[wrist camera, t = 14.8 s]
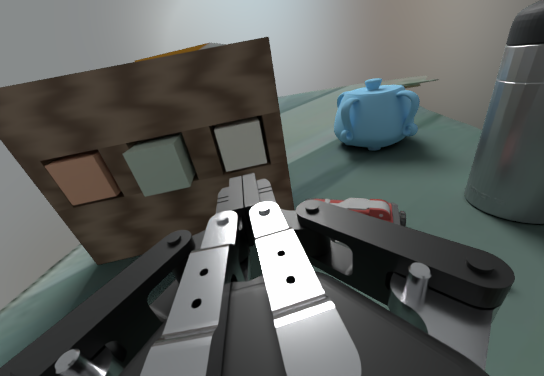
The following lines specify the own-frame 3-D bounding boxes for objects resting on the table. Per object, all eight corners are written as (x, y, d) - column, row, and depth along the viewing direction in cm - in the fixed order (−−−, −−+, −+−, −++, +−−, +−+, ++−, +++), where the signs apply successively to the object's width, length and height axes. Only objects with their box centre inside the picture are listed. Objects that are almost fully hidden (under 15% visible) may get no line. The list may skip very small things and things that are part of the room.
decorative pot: (404, 129, 56) (411, 69, 50) (418, 152, 43) (429, 76, 37) (338, 134, 62) (336, 81, 56) (332, 156, 49) (329, 90, 43)
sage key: (196, 171, 29) (182, 132, 26) (190, 186, 25) (172, 143, 22) (157, 179, 28) (139, 141, 26) (144, 196, 24) (122, 154, 22)
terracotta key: (132, 179, 30) (113, 144, 28) (116, 195, 26) (92, 155, 24) (94, 187, 30) (71, 152, 27) (72, 205, 26) (44, 166, 23)
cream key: (262, 151, 31) (255, 114, 28) (267, 162, 27) (258, 121, 24) (227, 159, 31) (216, 122, 28) (226, 171, 27) (214, 130, 24)
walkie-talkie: (283, 253, 27) (503, 290, 19) (277, 225, 25) (521, 252, 17) (302, 211, 34) (469, 225, 26) (298, 186, 32) (479, 192, 24)
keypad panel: (287, 199, 37) (262, 43, 26) (295, 218, 32) (268, 36, 21) (116, 238, 35) (17, 90, 25) (97, 265, 30) (-35, 94, 20)
